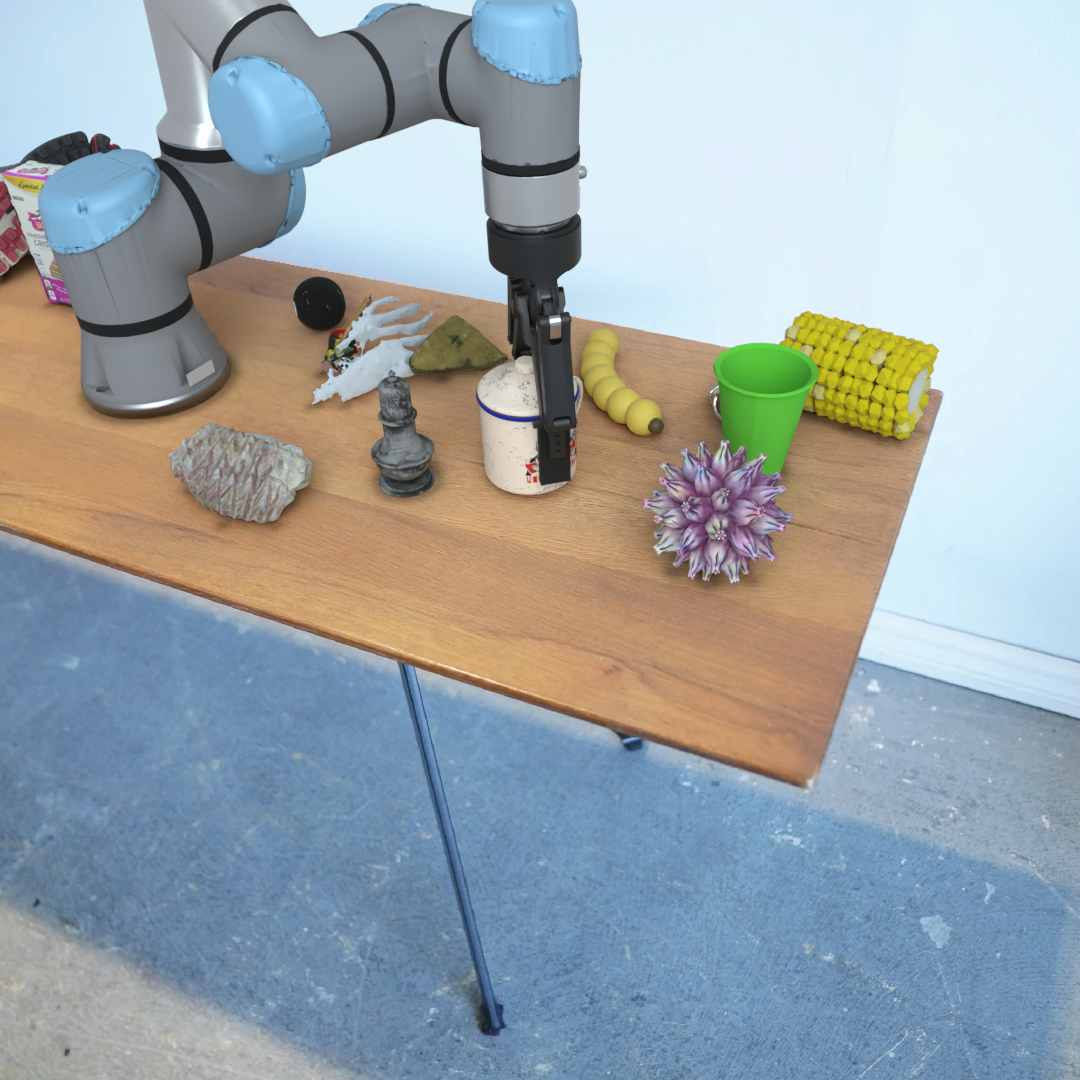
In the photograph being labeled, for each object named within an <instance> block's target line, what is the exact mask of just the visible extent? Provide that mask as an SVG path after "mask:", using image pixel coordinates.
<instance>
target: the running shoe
mask: <svg viewBox="0 0 1080 1080" xmlns="http://www.w3.org/2000/svg"><path fill="white" fill-rule="evenodd" d="M111 140H112V139H111V138H110V137H109V136H108V135H106V134H104V133H95V134H93V136H92V137H91V139H90V140H89V138H88V136H87V134H86V133H85V132H84V131H82V130H77V131H74V132H70V133H66V134H62V135H60V136H57V137H54V138H52V139H49V140H47V141H44V142H43V143H41V144H40V145H38V146H37V147H35V148H33V149H32V150H31V151H29V152H28V153H27V154H25V156H23V158H22V159H21V160H20V161H19V162H17V163H14V164H9V165H5V166H4V165H3V166H0V282H2V281H3V277H4V275H5V273H7V272H8V271H9V270H10V268H11V267H13V266H14V265H16V264H17V263H18V262H19V261H20V260H21V259H23V258H25V257H26V256H28V255H31V252H30V250H29V247H28V244H27V242H26V239H25V236H24V234H23V232H22V229H21V226H20V223H19V221H18V218H17V215H16V213H15V210H14V208H13V205H12V202H11V200H10V197H9V194H8V192H7V189H6V187H5V184H4V181H3V178H2V176H1V174H2V173H4V172H5V171H7V170H9V169H13V168H14V167H16V166H18V165H21V164H23V163H25V162H27V161H30V160H31V161H37V162H43V163H49V164H56V165H62V166H66V165H68V164H70V163H72V162H74V161H76V160H78V159H80V158H83V157H86V156H89V155H92V154H96V153H100V152H101V153H103V154H105V153H108V152H110V151H111V150H117V149H122V147H121V146H120V145H118V144H117V143H111Z"/></svg>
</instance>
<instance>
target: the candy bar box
mask: <svg viewBox="0 0 1080 1080" xmlns="http://www.w3.org/2000/svg"><path fill="white" fill-rule="evenodd" d="M62 167H64V166H62V165H56V164H49V163H43V162H37V161H31V160H30V161H27V162H25V163H23V164H21V165H18V166H16V167H14V168H13V169H9V170H7V171H5V172H4V173H2V174H1V176H2V178H3V181H4V184H5V187H6V189H7V192H8V194H9V197H10V200H11V202H12V205H13V208H14V210H15V213H16V215H17V218H18V221H19V223H20V226H21V229H22V232H23V234H24V236H25V239H26V242H27V244H28V247H29V250H30V252H31V254H30V255H31V258H32V260H33V263H34V265H35V268H36V271H37V274H38V276H39V278H40V282H41V284H42V286H43V289H44V292H45V295H46V298H47V300H48V302H49V303H53V304H57V305H58V304H59V305H63V306H67V307H72V304H71V301H70V299H69V296H68V293H67V290H66V288H65V285H64V282H63V279H62V277H61V274H60V271H59V269H58V266H57V263H56V261H55V258H54V255H53V253H52V250H51V248H50V247H49V245H48V243H47V241H46V238H45V231H44V226H43V222H42V218H41V215H40V211H39V207H38V196H39V193H40V190H41V189H42V187H43V184H44V183H45V182H46V180H47V179H48V178H49V177H50V176H51V175H52V174H54V173H55V172H56V171H58V170H59V169H61V168H62Z"/></svg>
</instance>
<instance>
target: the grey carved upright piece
mask: <svg viewBox="0 0 1080 1080" xmlns="http://www.w3.org/2000/svg"><path fill="white" fill-rule="evenodd" d="M394 375H395V372H394V371H392V370H390V371H389V373H388V376H389V377H386V378H384V379H383V380H382V381H381V382H380V383H379V385H378V386H377V393H378V400H379V407H380V411H378V414H377V420H378V422H379V423H381V425H382V432H383V437H380V439H378V440H376V442H375V443H374V444H373V445H372V447H371V449H370V456H371V459H372V461H373V462H374V463H375V464H376V466H377V468H378V469H379V471H380V472H381V473H382V474H381V475H380V477H379V479H378V485H379V489H380V490H381V491H382V492H383V493H385V494H386V495H389V496H391V497H395V498H412V497H416V496H419V495H421V494H423V493H425V492H427V491H429V489H431V488H432V486H433V485H434V483H435V479H436V474H435V473H434V471H433V470H432V469H431V468H430V464H431V462H432V459H433V454H434V452H435V444H434V442H433V440H432V439H431V438H430V437H428V435H425V434H423V433H420V432H418V431H417V426H416V419H417V417H418V410H417V409H416V407H414V406H413V403H412V394H411V388H410V387H411V386H410V384H409V382H408V381H407V380H406V379H405V378H402V377H399V376H394Z"/></svg>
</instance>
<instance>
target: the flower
mask: <svg viewBox="0 0 1080 1080" xmlns="http://www.w3.org/2000/svg"><path fill="white" fill-rule="evenodd" d="M746 453H747V448H745V447H744V446H743V445H742V446H740V447H739V449H738V451H737V452H736V453H735V454H733V455H732V453H731V450H730V442H729V440H728V441H726V440H723V439H721V440H720V443H719V447H718V449H717V451H716V452H715V453H714V454H712V453H711V452H710V450H709V449H708V447H707V444H706V442H705V441H702V442H696V454H693V453H691V452H690V450H689V449H688V448H687V447H685V449H682V450H681V451H680V455H681V456H682V461H683V463H682V465H680V466H679V467H678V466H675V465H672V464H671V463H669V462H668V461H667V460H662V461H661V464H659V467H660V469H661V470H662V471H663V472H664V474H665V475H666V477H665V476H663V477H661V476H660V477H659V479H658V480H659V484H660V485H661V486H662V487H664V489H656V488H654V489H652V497H653V498H645V499H644V501H643V503H644V504H643V509H644V510H648V511H652V512H653V513H654V514H655V515H654V517H653V518H654V520H653V521H654V522H655V523H656V524H661V525H660V527H659V528H658V529H656V530H654V531H653V536H654V539H655V540H659V541H658V542H657V543H655V545H654V546H653V550H655V553H656V554H657V556H662V555H663V554H666V553H669V552H675V553H676V557H675V559H674V561H673V562H672V566H673V567H675V568H679V566H681V564H683V563H685V562H688V573H687V577H688V578H690V580H691V581H693V580H694V578H695V577H696V576H697V574H698V573H700V571H701V572H702V579H701V580H702V581H705V582H707V581H708V582H710V581H711V578H712V575H713V574H714V575H717V574H720V573H721V571H722V572H723V573H724V574H725V575H726V576H727V577H728V579H729V582H730V584H731V585H735V583H737V582H738V583H740V572H741V573H742V574H743V575H744V576H745V575H749V574H750V573H751V572H752V569H751V566H750V560H752V561H753V562H755V563H758V562H759V559H761V558H763V559H767V560H769V561H770V562H774V561H775V560H776V559H777V557H779V556H778V554H777V553H776V552H775V551H774V549H773V547H772V543H773V540H774V538H773V537H772V536H770V535H769V534H772V533H775V532H781V533H785V532H786V530H787V524H786V523H791V522H793V520H792V518H794V513H792V512H787V511H785V510H783V509H781V508H780V507H779V506H777V505H776V504H777V501H776V500H777V498H778V497H779V496H780V495H782V494H784V493H785V492H787V491H788V488H787V487H786V485H777V484H778V483H779V482H780V481H781V480H783V476H782V474H781V473H780V474H779V472H775V473H773V474H762V469H763V464H764V462H765V460H766V459H767V456H765V454H763V453H760V454H759V455H758V456H757V457H756V458H755V459H753V460H751V461H748V462H746ZM776 485H777V486H776Z"/></svg>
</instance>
